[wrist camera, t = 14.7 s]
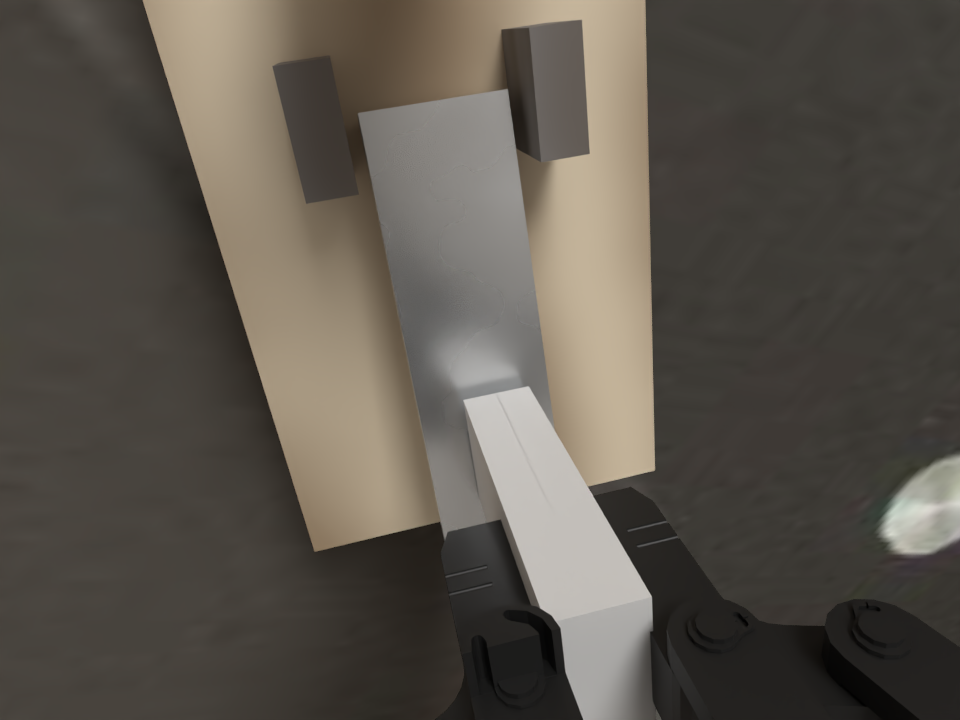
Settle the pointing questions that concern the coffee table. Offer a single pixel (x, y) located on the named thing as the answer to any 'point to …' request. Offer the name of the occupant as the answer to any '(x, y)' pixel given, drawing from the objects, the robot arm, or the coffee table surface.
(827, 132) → the coffee table surface
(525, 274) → the lever
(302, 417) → the block
